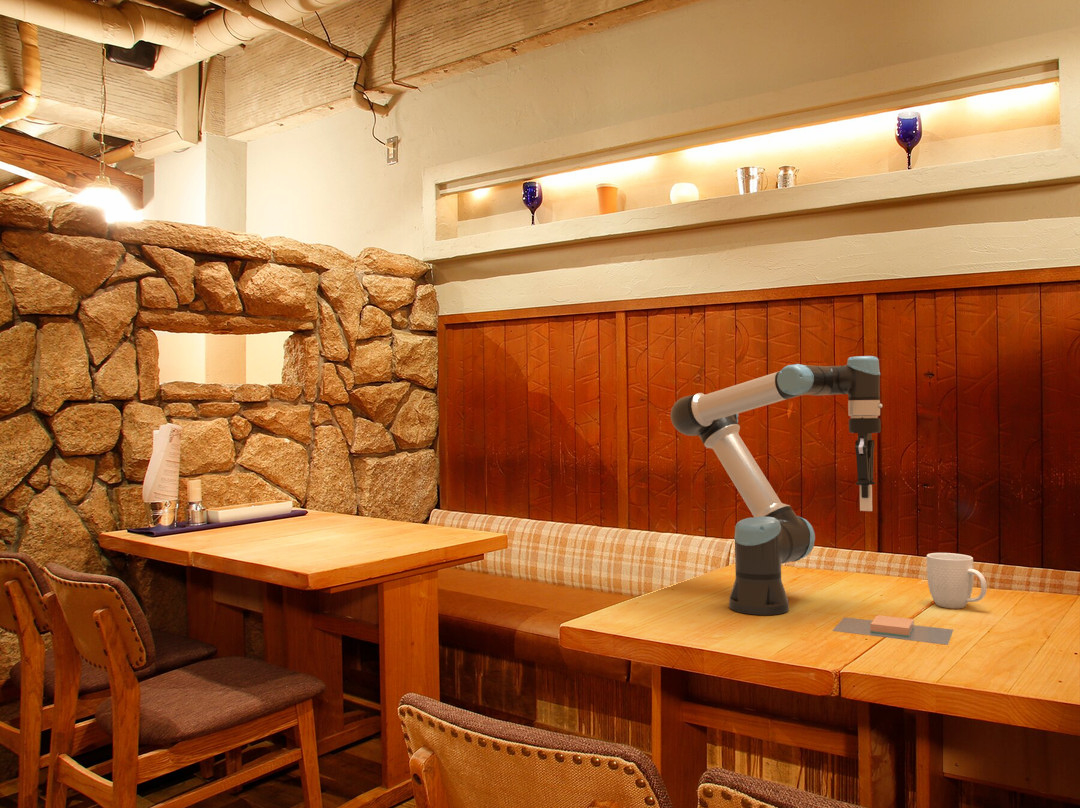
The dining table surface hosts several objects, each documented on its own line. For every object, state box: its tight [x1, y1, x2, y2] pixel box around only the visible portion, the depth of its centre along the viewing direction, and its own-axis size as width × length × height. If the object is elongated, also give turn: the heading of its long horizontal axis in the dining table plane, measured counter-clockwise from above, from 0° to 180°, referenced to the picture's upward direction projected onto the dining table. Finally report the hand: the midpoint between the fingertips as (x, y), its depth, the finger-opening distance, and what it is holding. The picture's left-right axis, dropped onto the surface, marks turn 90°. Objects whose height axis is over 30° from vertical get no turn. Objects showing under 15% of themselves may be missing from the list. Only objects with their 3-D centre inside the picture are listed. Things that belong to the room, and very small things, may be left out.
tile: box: [871, 615, 915, 637], centre depth 188 cm, size 8×2×9 cm
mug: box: [926, 552, 988, 609], centre depth 213 cm, size 15×11×13 cm
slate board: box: [831, 616, 954, 646], centre depth 188 cm, size 24×14×1 cm, turn 59°
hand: (866, 510), depth 206 cm, fingers closed
